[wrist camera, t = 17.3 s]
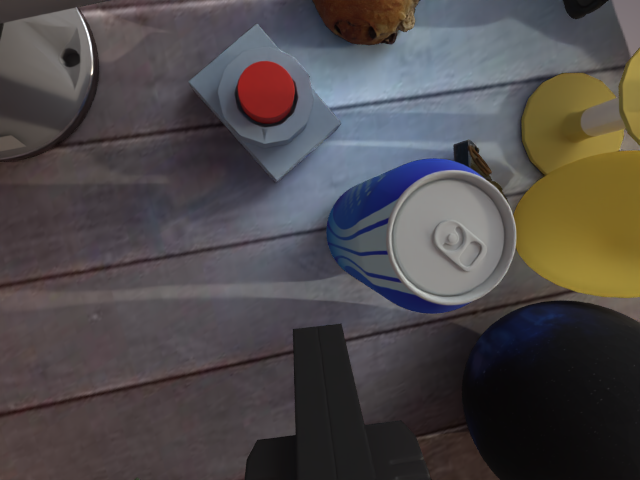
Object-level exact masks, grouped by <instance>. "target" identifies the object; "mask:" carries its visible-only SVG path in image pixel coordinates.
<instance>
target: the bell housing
mask: <svg viewBox="0 0 640 480" xmlns="http://www.w3.org/2000/svg"><path fill="white" fill-rule="evenodd" d="M259 61H270V62H274V63H277V64H279V65H280V66H282V67H283V68H284V69H286V71H287V72H288V73H289V74H290V76H291V78H292V80H293V83H294V88H295V94H294V100H293V105H292V108H291V110H290V112H289V113H288V115H287V116H286V117H285V118H283V119H282V120H280V121H279V122H276V123H272V124H263V123H259V122H256V121H254V120H253V119H251V118H250V117H249V116H248V115H247V114H246V113H245V112H244V110H243V108H242V106H241V103H240V100H239V96H238V81H239V78H240V76H241V74H242V73H243V71H244V70H245V69H246V68H247V67H248V66H250V65H251V64H253V63H256V62H259ZM189 83H190V85H191V87H192V88H193V90H194V92H195V93H196V94H197V95H198V96H199V97H200V98H201V99H202V101H203V102H204V103H205V104H206V105H207V106H208V107H209V108H210V110H211V111H212V112H213V113H214V114H215V115H216V116H217V117H218V118H219V120H220V121H221V122H222V123H223V124H224V125H225V126H226V127H227V129H228V130H229V131H230V132H231V133H232V134H233V135H234V136H235V138H236V139H237V140H238V141H239V142H240V143H241V144H242V145H243V147H244V148H245V149H246V150H247V151H248V152H249V153H250V154H251V156H252V157H253V158H254V159H255V160H256V161H257V162H258V163H259V164H260V166H261V167H262V168H263V169H264V170H265V171H266V172H267V173H268V175H269V176H270V177H271V178H272V179H273V180H274V181H275V182H276V183H277V182H278V181H279V180H280V179H282V178H283V177H284V176H285V175H286V174H287V173H288V172H289V171H291V170H292V169H293V168H294V167H295V166H296V165H297V164H298V163H300V162H301V161H302V160H303V159H304V158H305V157H306V156H307V155H309V154H310V153H311V152H312V151H313V150H314V149H315V148H316V147H318V146H319V145H320V144H321V143H322V142H323V141H324V140H325V139H327V138H328V137H329V136H330V135H331V134H332V133H333V132H335V131H336V130H337V129H338V127H339V126H340V124H341V122H340V120H339V119H338V118H337V117H336V116H335V114H334V113H333V112H332V111H331V110H330V109H329V107H328V106H327V105H326V104H325V103H324V102H323V100H322V99H321V98H320V97H319V96H318V94H317V93H316V92H315V91H314V90H313V89H312V85H311V80H310V76H309V74H308V73H307V72H306V71H305V69H304V68H303V67H302V66H301V65H300V64H299V62H298V61H297V60H296V59H295V58H294V56H292V55H289V54H287V53H284V52H281V51H280V50H279V49H278V47H277V46H276V45H275V44H274V43H273V41H272V40H271V39H270V38H269V37H268V36H267V34H266V33H265V32H264V31H263V30H262V29H261V27H260V26H259V25H258V24H255V25H254V26H253V27H252V28H251V29H249V30H248V31H247V32H246V33H245V34H244V35H242V36H241V37H240V38H239V39H238V40H237V41H235V42H234V43H233V44H232V45H231V46H230V47H228V48H227V49H226V50H225V51H224V52H222V53H221V54H220V55H219V56H218V57H217V58H215V59H214V60H213V61H212V62H211V63H210V64H208V65H207V66H206V67H205V68H204V69H203V70H201V71H200V72H199V73H198V74H197V75H196V76H194V77H193V78H192V79H191V80H190V81H189Z"/></svg>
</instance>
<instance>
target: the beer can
mask: <svg viewBox="0 0 640 480" xmlns="http://www.w3.org/2000/svg"><path fill="white" fill-rule="evenodd" d="M326 234H327V242H328V246H329V249H330V252H331V254H332V256H333V258H334V259H335V261H336V262H337V263H338V265H339V266H340V267H341V268H342V269H343V270H344V271H346V272H347V273H348V274H350V275H351V276H353V277H354V278H356V279H358V280H359V281H361V282H362V283H364V284H365V285H367V286H368V287H370V288H371V289H373V290H374V291H376V292H377V293H379V294H380V295H382V296H384V297H385V298H387V299H388V300H390V301H391V302H393V303H395V304H396V305H398V306H400V307H403V308H405V309H408V310H411V311H415V312H420V313H430V314H435V313H444V312H449V311H452V310H456V309H458V308H461V307H463V306H465V305H467V304H469V303H471V302H472V301H474V300H477V299H479V298H481V297H482V296H484V295H486V294H487V293H489V292H490V291H491V290H492V289H493V288H494V287H495V286H497V285H498V283H499V282H500V281H501V280H502V279H503V277H504V276H505V274H506V272H507V271H508V269H509V267H510V265H511V262H512V259H513V256H514V252H515V247H516V226H515V221H514V217H513V214H512V211H511V209H510V206H509V204H508V203H507V201H506V199H505V198H504V196H503V195H502V194H501V193H500V191H499V190H498V189H497V188H496V187H495V186H494V185H492V184H491V183H490V182H488V181H487V180H485V179H484V178H483V177H482V176H481V175H480V174H478V173H477V172H475V171H474V170H472V169H471V168H469V167H467V166H465V165H463V164H460V163H458V162H455V161H451V160H446V159H436V158H433V159H422V160H417V161H413V162H410V163H407V164H404V165H402V166H400V167H397V168H395V169H393V170H390V171H388V172H386V173H383V174H381V175H379V176H377V177H374V178H372V179H370V180H367V181H365V182H363V183H361V184H358V185H356V186H354V187H352V188H350V189H349V190H347V191H346V192H345V193H344V194H343V195H342V196H341V197H340V198H339V199H338V200H337V201H336V203H335V204H334V206H333V208H332V210H331V212H330V214H329V217H328V222H327V231H326Z"/></svg>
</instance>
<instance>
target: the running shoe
mask: <svg viewBox="0 0 640 480" xmlns="http://www.w3.org/2000/svg"><path fill="white" fill-rule="evenodd" d="M607 1H608V0H563V3H564V6H565V9H566V12H567V14H568V15H569V16H570V17H571V18H573V19H579V18H582V17H583V16H585V15H586V14H589V13H591V12H593V11H595V10H597V9H598V8H600V7H601V6H602V5H604V4H605V3H606V2H607Z"/></svg>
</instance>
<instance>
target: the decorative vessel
mask: <svg viewBox="0 0 640 480" xmlns="http://www.w3.org/2000/svg"><path fill="white" fill-rule="evenodd" d="M513 217H514V221H515V226H516V249H517V252H518V254H519V255H520V256H521V258H522V259H523V260H524V261H525V263H526V264H527V265H528V266H529V267H530V268H531V269H533V270H534V271H535V272H536V273H538V274H539V275H540V276H542V277H543V278H545V279H547V280H549V281H551V282H553V283H555V284H556V285H558V286H561V287H564V288H567V289H570V290H573V291H576V292H579V293H584V294H590V295H595V296H601V297H619V298H632V297H640V151H618V152H610V153H603V154H598V155H594V156H590V157H586V158H582V159H580V160H577V161H574V162H571V163H569V164H566V165H564V166H562V167H560V168H558V169H556V170H554V171H552V172H550V173H549V174H547V175H546V176H544V177H543V178H542V179H540V180H539V181H537V182H536V183H535V184H534V185H533V186H532V187H531V188H530V189H529V190H528V191H527V192H526V193H525V194H524V196H523V197H522V199H521V200H520V201H519V203H518V205H517V207H516V209H515V212H514V214H513Z"/></svg>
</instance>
